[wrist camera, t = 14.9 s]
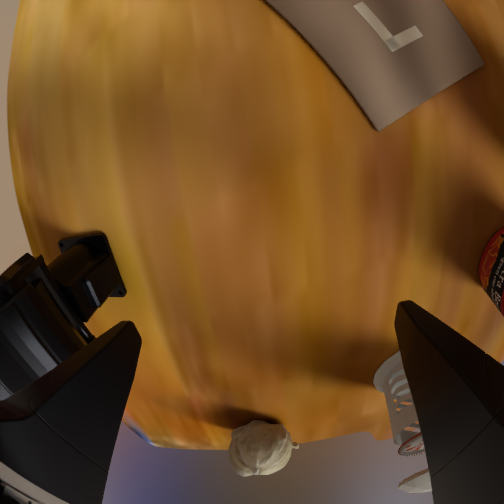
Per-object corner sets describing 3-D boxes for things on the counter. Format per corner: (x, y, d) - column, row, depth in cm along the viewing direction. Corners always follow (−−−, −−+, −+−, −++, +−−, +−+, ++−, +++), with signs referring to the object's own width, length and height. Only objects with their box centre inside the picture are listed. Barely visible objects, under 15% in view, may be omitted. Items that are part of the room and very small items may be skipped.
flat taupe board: (376, 131, 16) (378, 131, 15) (261, -3, 12) (261, -5, 12) (482, 64, 11) (485, 64, 11) (384, -56, 8) (386, -59, 7)
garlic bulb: (242, 416, 37) (211, 464, 30) (250, 400, 32) (214, 458, 25) (294, 440, 35) (267, 490, 28) (312, 427, 30) (282, 489, 23)
